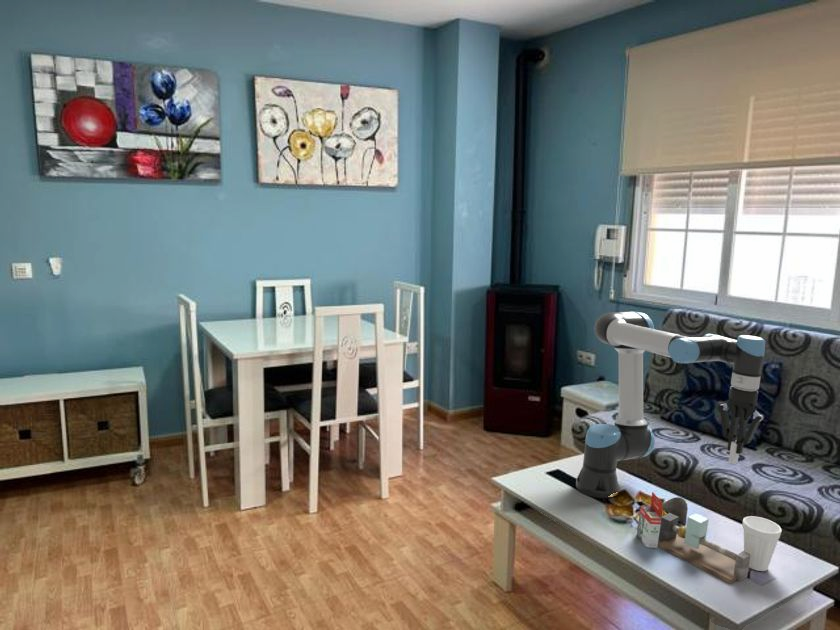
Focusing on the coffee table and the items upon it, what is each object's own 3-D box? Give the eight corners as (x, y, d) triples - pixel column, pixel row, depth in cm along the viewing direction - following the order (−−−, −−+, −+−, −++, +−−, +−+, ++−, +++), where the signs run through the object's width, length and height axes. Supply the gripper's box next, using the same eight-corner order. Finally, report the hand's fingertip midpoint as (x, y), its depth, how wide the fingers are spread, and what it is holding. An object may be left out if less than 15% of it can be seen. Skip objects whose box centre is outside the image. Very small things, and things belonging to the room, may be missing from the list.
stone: (666, 534, 201) (693, 521, 196) (650, 510, 204) (676, 497, 199) (672, 527, 209) (698, 514, 204) (657, 504, 212) (682, 491, 207)
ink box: (646, 548, 184) (651, 503, 182) (636, 534, 192) (641, 490, 190) (658, 548, 184) (664, 503, 182) (647, 534, 192) (653, 491, 190)
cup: (730, 555, 183) (736, 514, 181) (763, 557, 183) (770, 517, 180) (746, 574, 173) (753, 532, 171) (782, 577, 173) (789, 534, 171)
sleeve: (684, 542, 182) (687, 517, 181) (692, 538, 185) (695, 513, 183) (697, 549, 179) (700, 522, 178) (704, 544, 182) (708, 519, 180)
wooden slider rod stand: (652, 543, 187) (655, 519, 186) (672, 533, 194) (675, 510, 192) (733, 585, 167) (738, 558, 166) (752, 573, 174) (757, 547, 173)
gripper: (716, 383, 185) (706, 457, 189) (761, 395, 175) (748, 472, 179) (729, 380, 189) (718, 452, 193) (773, 391, 179) (760, 467, 183)
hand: (733, 462), depth 186 cm, fingers closed
